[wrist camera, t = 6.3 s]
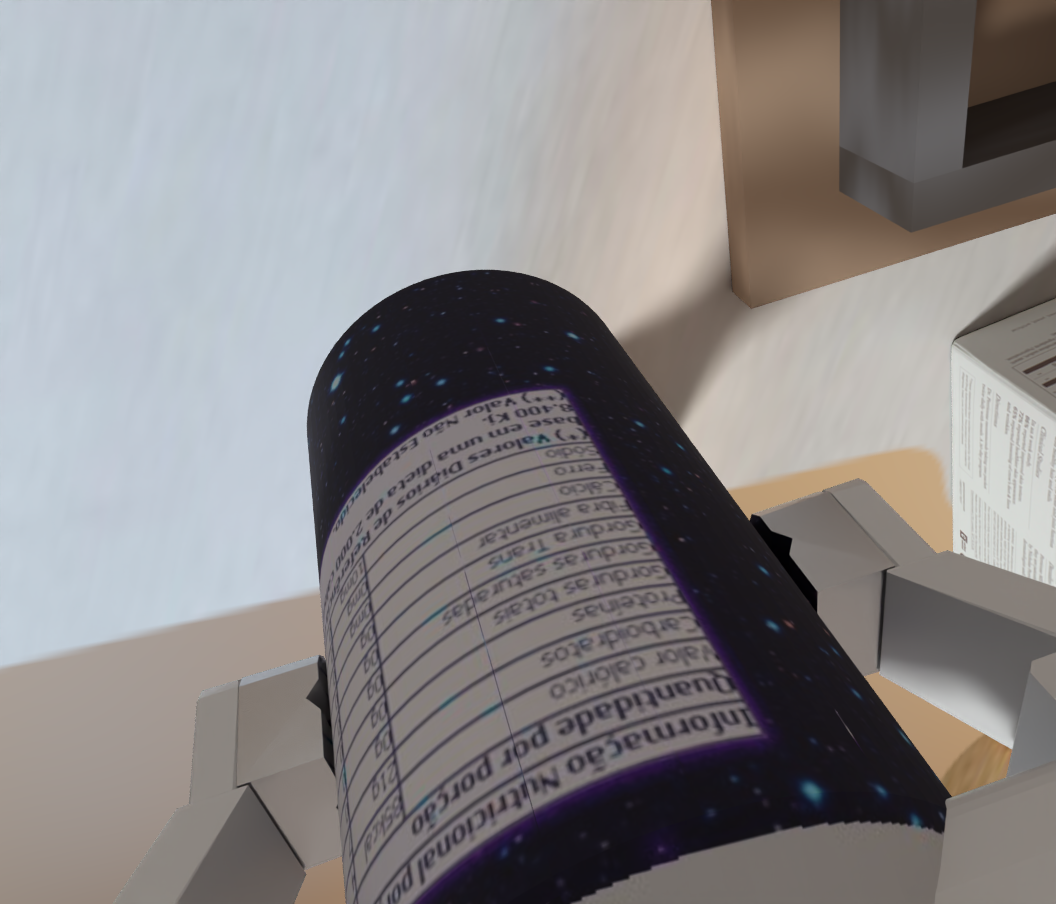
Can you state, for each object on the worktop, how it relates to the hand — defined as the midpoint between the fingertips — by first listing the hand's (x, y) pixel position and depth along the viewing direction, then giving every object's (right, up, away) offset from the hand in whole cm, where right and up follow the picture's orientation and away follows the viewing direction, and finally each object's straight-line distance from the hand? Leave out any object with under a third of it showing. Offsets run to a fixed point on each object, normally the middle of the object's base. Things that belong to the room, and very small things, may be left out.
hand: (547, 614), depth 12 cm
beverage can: (-1, +3, +5) cm, 6 cm away
